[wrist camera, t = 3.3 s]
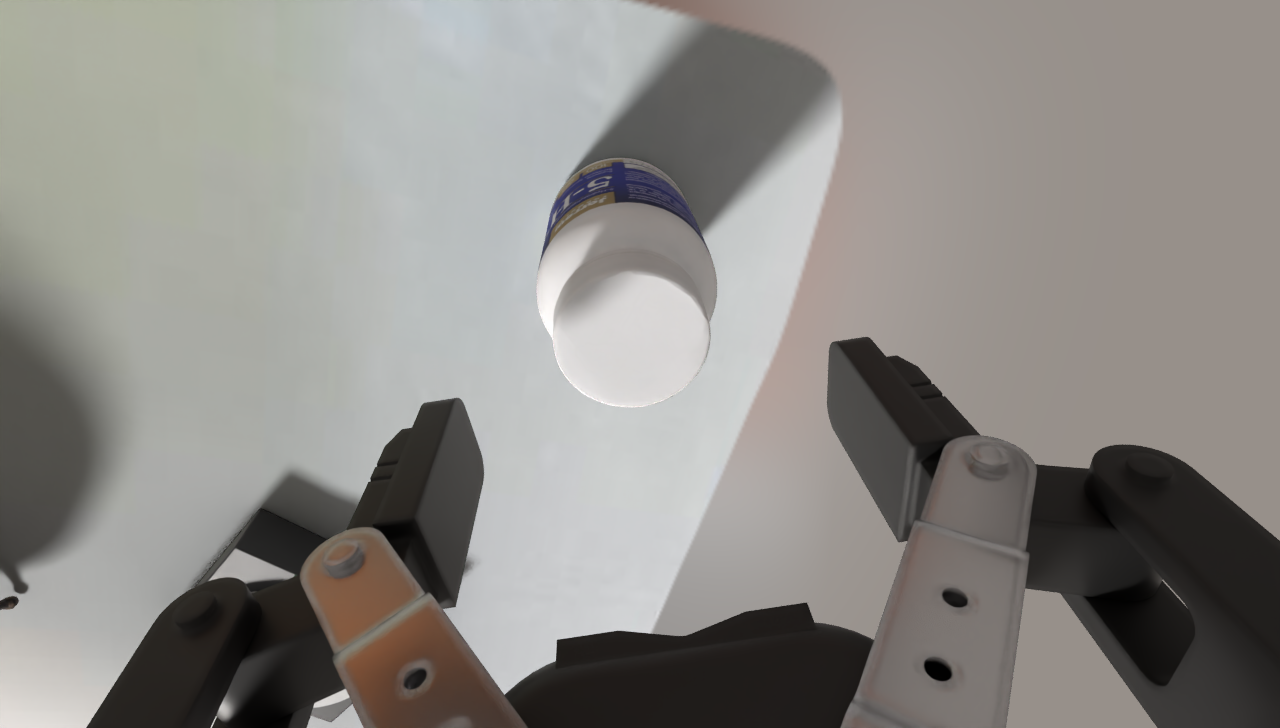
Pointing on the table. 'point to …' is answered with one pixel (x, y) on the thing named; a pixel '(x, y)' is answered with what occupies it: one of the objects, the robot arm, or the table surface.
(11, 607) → the alarm clock
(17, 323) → the table surface
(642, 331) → the pill bottle
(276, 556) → the scale
